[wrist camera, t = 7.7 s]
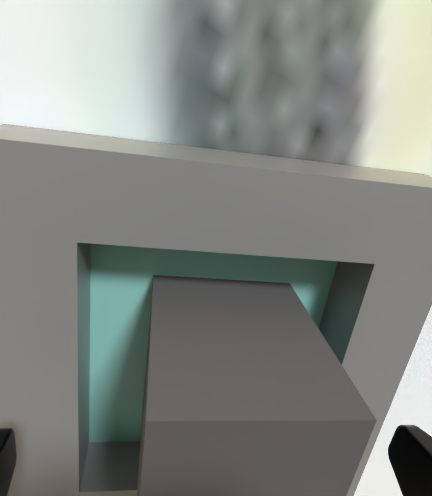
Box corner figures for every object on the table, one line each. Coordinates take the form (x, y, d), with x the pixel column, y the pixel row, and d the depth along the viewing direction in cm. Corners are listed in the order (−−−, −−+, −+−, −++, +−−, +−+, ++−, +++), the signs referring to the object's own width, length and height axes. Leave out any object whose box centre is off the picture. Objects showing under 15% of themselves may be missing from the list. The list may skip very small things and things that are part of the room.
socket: (423, 174, 11) (477, 193, 9) (321, 468, 15) (343, 520, 13) (4, 124, 9) (-38, 134, 7) (31, 476, 13) (11, 538, 12)
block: (294, 283, 11) (384, 420, 7) (263, 409, 13) (316, 583, 9) (153, 274, 10) (145, 421, 6) (142, 409, 12) (130, 598, 8)
